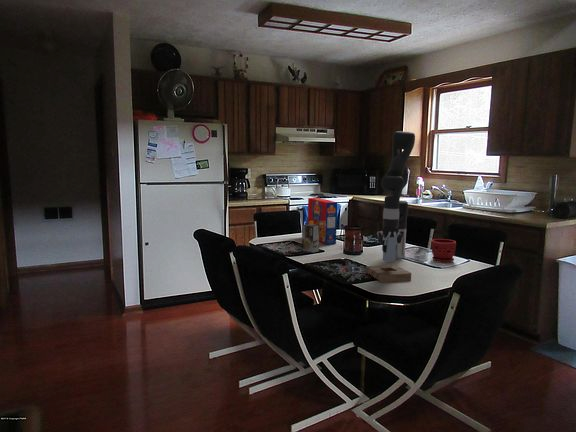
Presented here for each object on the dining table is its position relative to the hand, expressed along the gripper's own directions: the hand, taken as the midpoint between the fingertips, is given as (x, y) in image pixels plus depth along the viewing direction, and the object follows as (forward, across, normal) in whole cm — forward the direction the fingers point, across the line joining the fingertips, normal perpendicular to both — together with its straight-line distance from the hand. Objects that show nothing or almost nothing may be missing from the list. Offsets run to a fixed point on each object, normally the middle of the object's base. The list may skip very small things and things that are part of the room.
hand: (389, 251), depth 204 cm
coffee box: (+13, +21, -59) cm, 64 cm away
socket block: (+12, 0, 0) cm, 12 cm away
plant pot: (+13, -45, -20) cm, 51 cm away
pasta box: (+13, +4, -87) cm, 88 cm away
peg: (+4, 0, 0) cm, 4 cm away
